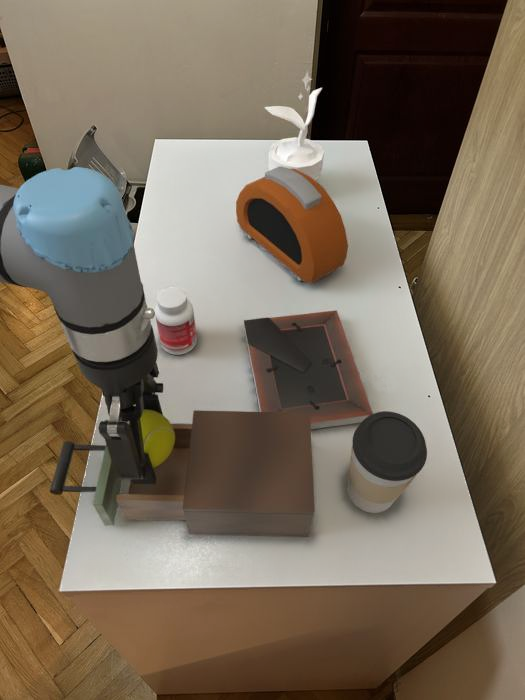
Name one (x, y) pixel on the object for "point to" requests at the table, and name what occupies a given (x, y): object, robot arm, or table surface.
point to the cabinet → (249, 474)
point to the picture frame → (306, 368)
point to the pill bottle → (175, 321)
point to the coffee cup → (384, 460)
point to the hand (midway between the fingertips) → (149, 451)
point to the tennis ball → (157, 436)
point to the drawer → (141, 498)
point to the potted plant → (297, 140)
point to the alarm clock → (294, 222)
